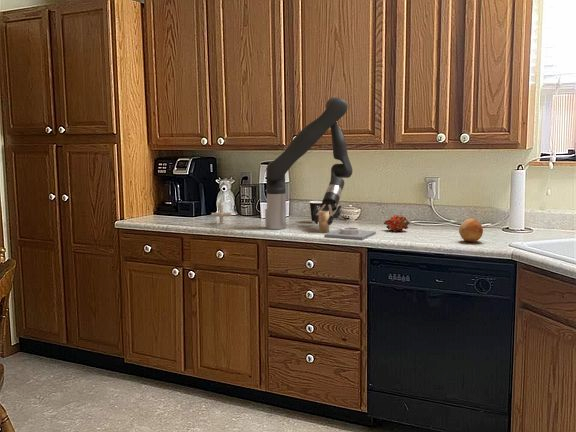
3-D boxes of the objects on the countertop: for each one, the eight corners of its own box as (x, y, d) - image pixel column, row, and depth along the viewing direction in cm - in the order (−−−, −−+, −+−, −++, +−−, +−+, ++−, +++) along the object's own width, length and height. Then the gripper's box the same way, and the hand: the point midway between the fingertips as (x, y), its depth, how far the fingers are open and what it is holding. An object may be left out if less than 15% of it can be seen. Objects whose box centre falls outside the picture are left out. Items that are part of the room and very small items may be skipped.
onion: (454, 242, 255) (454, 218, 254) (466, 239, 262) (466, 216, 261) (475, 244, 248) (476, 220, 247) (486, 241, 255) (487, 218, 254)
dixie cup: (306, 222, 316) (306, 201, 315) (319, 221, 320) (319, 200, 319) (314, 224, 309) (314, 202, 308) (327, 222, 313) (327, 202, 312)
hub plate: (324, 237, 270) (324, 230, 269) (339, 231, 285) (339, 224, 285) (362, 240, 261) (362, 232, 261) (376, 233, 277) (376, 227, 277)
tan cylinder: (317, 232, 283) (317, 210, 281) (321, 231, 287) (321, 209, 286) (326, 233, 281) (326, 210, 279) (330, 231, 285) (330, 209, 283)
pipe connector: (231, 222, 317) (231, 203, 316) (230, 225, 308) (230, 205, 306) (212, 222, 317) (212, 203, 316) (210, 225, 307) (210, 206, 306)
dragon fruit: (410, 235, 282) (385, 237, 287) (412, 223, 288) (388, 225, 293) (405, 222, 277) (380, 224, 282) (408, 210, 283) (383, 212, 288)
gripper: (316, 190, 291) (306, 217, 282) (344, 191, 285) (334, 219, 276) (321, 200, 297) (310, 227, 288) (348, 201, 290) (338, 229, 281)
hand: (322, 223), depth 282 cm, fingers open, 6 cm apart
